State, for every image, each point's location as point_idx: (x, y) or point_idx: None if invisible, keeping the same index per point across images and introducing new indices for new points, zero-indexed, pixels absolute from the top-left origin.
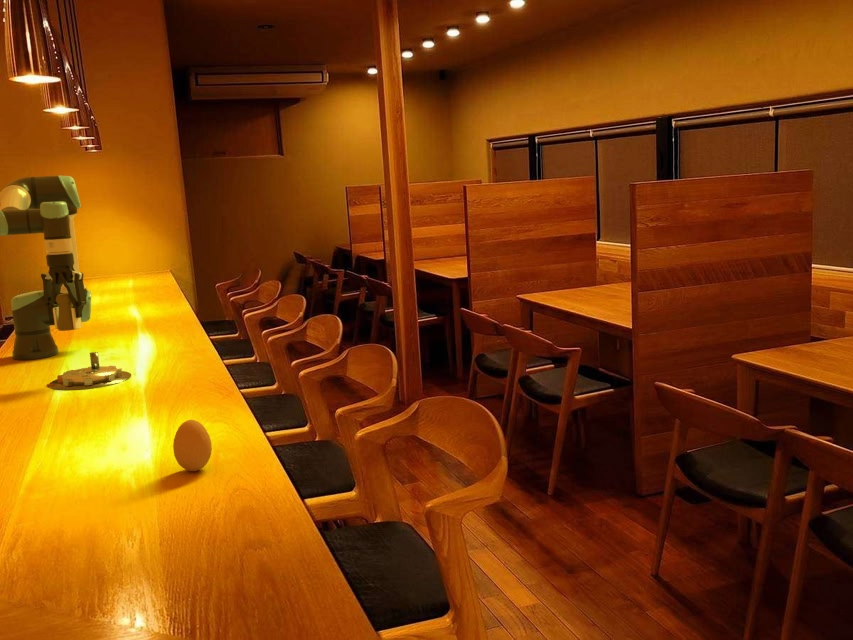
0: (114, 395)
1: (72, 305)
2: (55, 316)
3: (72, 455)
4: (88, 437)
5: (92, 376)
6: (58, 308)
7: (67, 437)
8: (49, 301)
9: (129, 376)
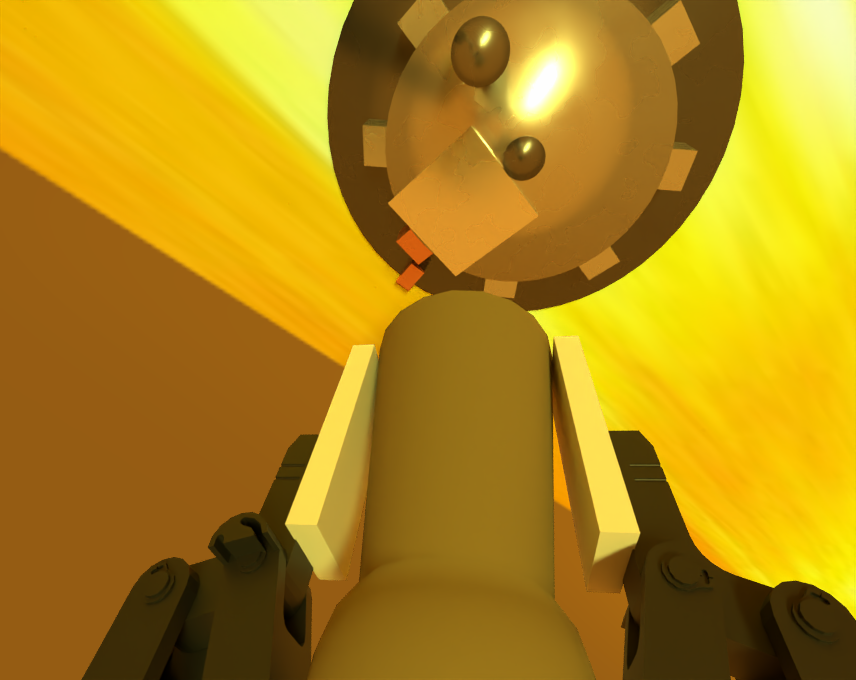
0: (786, 332)
1: (551, 577)
2: (362, 490)
3: (852, 605)
4: (850, 561)
5: (599, 230)
6: (335, 536)
7: (798, 563)
8: (185, 638)
9: (732, 20)
